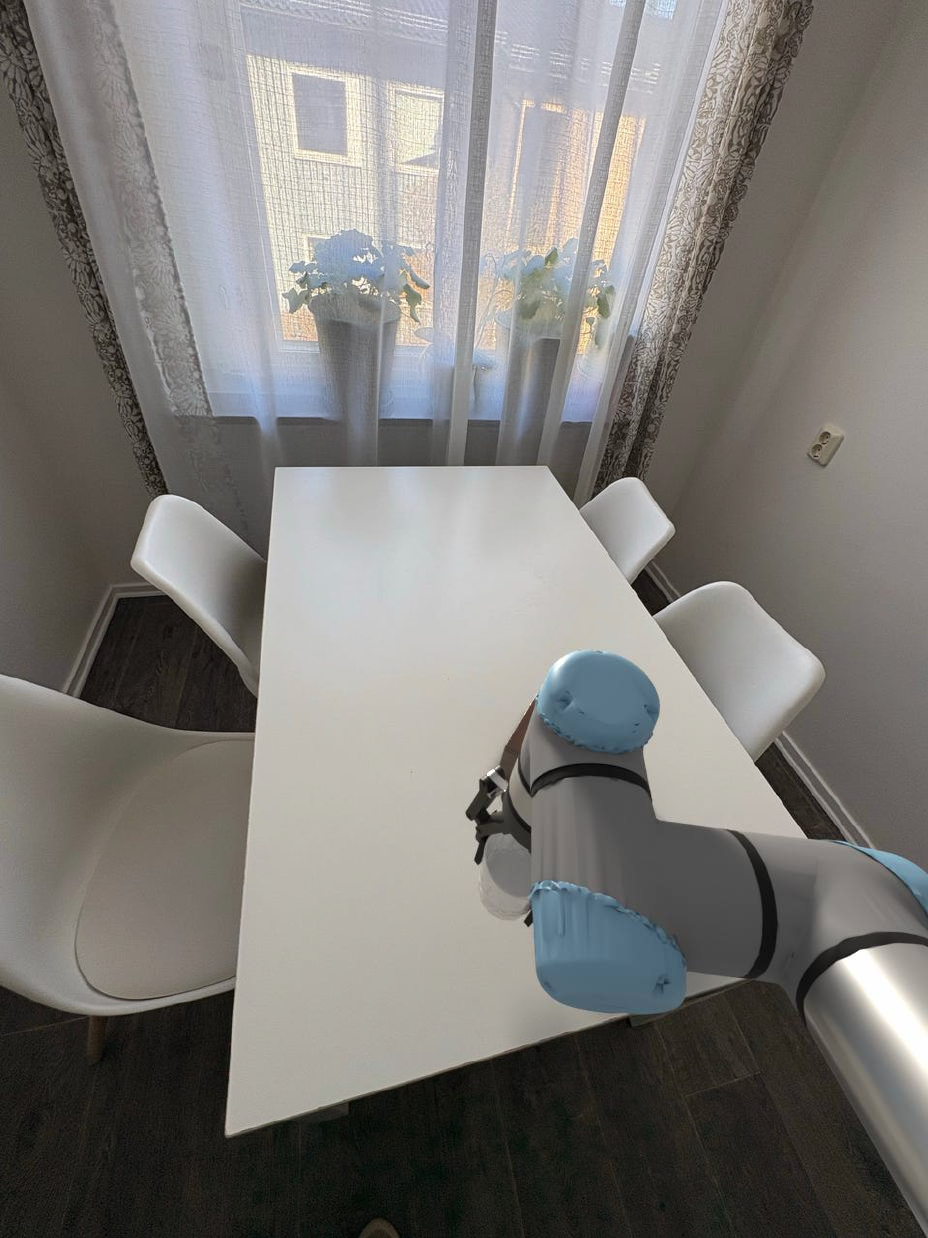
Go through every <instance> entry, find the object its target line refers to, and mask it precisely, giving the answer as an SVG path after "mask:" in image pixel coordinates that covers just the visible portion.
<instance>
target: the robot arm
mask: <svg viewBox="0 0 928 1238" xmlns="http://www.w3.org/2000/svg"><path fill="white" fill-rule="evenodd" d="M541 686H542V687H541ZM541 686H540V688H539V689H538V691H537V693H538V694H537V693H535V696H536V697H535V696H534V698H535V701H536V703H535V707H534V710H533V713H532V716H531V719H530V722H529V725H528V728H527V731H526V734H525V737H524V740H523V744H522V747H521V750H520V753H519V756H518V758H517V761H516V763H515V766H514V768H513V771H512V774H511V777H510V780H509V783H508V782H507V780H505V772H504V770H503V768H502V767H500V766H499V764H497V765H496V766H494V767H493V768H492V769H491V770H490V771H488V772H487V773H485V775H483V776H482V777H480V778H479V779H478V784H479V785H478V792H477V793H476V794H475V796H474V798H473V799H472V800H471V803H470V804H469V806H468V807H467V809H466V810H465V812H464V813H465V816H466V818H467V819H468V820H469V821H470V822H473V821H474V822H475V824H476V826H475V831H476V832H475V835H474V838H475V841H476V842H477V843H478V846H477V849H476V852H475V855H474V858H473V861H474V863H475V864H476V866H479V865H481V862H482V858H483V853H484V849H485V845H486V842H487V839H488V838H489V836H490V835H492V834H498V833H503V835H506V834H511V835H512V836H513V838H514V839H515V840H516V841H517V842H518V843H519V844H520V845H522V846H523V847H524V848H526V849H528V852H529V853H530V854H531V888H530V894H529V902H530V903H532V909H531V910H530V911H529V912H528V913H527V914H526V917H525V919H524V920H523V924H524V925H525V926H526V927H527V928H530V926H533V927H532V928H533V947H534V963H535V974H536V978H537V980H538V982H539V985H540V986H541V988H542V989H543V990H544V992H546V993H547V995H548V996H549V997H550V998H551V999H553V1000H555V1002H558V1003H560V1004H562V1005H564V1006H567V1007H571V1008H574V1009H578V1010H583V1011H587V1012H594V1013H601V1014H627V1015H637V1016H638V1015H639V1016H640V1015H654V1014H661V1013H663V1014H664V1013H667V1012H670V1011H674V1010H676V1009H677V1008H679V1007H680V1006H681V1005H682V1004H683V1003H684V1001H685V999H686V995H687V976H686V975H687V973H695V974H704V975H711V976H719V977H727V978H736V979H744V980H754V981H758V982H766V983H772V984H777V985H778V986H780V987H781V988H782V989H783V991H784V993H786V996H787V997H788V999H789V1001H790V1002H791V1004H792V1007H794V1009H795V1010H796V1012H797V1013H798V1016H799V1018H800V1020H801V1021H802V1023H803V1026H805V1029H806V1030H807V1031H808V1033H809V1034H810V1036H811V1038H812V1039H813V1041H814V1042H815V1045H816V1046H817V1048H818V1050H819V1051H820V1053H821V1055H822V1057H823V1058H824V1060H825V1062H826V1063H827V1065H828V1066H829V1069H830V1070H831V1073H832V1075H834V1077H835V1080H836V1081H837V1083H838V1085H839V1086H840V1088H841V1090H842V1092H843V1093H844V1095H845V1097H846V1098H847V1100H848V1102H849V1103H850V1106H851V1107H852V1109H853V1111H854V1113H855V1114H856V1116H857V1117H858V1120H859V1121H860V1123H861V1124H862V1126H863V1128H864V1130H865V1132H866V1133H867V1135H868V1137H869V1139H870V1141H871V1142H872V1144H873V1146H874V1148H875V1149H876V1151H877V1152H878V1154H879V1156H880V1158H881V1159H882V1161H883V1163H884V1165H885V1167H886V1169H887V1170H888V1172H889V1173H890V1176H891V1177H892V1179H893V1181H894V1183H895V1184H896V1187H898V1189H899V1191H900V1193H901V1195H902V1197H903V1198H904V1200H905V1202H906V1203H907V1205H908V1207H909V1209H910V1211H911V1212H912V1215H914V1217H915V1219H916V1221H917V1223H918V1225H919V1226H920V1228H921V1229H922V1231H923V1234H925V1237H926V1238H928V873H927V872H926V871H925V870H923V868H921V867H920V866H918V864H915V863H914V862H912V861H910V860H908V859H906V858H905V857H903V856H900V855H897V854H894V853H891V852H887V851H884V850H878V849H873V848H868V847H863V846H858V845H855V844H851V843H850V842H848V841H843V840H835V839H834V840H833V839H812V838H805V837H795V836H789V835H788V836H787V835H778V834H771V833H770V834H769V833H763V832H762V833H761V832H752V831H745V830H735V829H728V828H720V827H712V826H705V825H698V824H697V825H696V824H689V823H682V822H674V821H667V820H661V819H658V818H657V815H656V813H655V808H654V804H653V797H652V792H651V786H650V782H649V777H648V772H647V767H646V762H645V756H644V750H645V749H644V747H645V746H646V745H647V744H648V743H649V741H650V739H651V738H652V737H653V735H654V730H655V728H656V725H657V722H658V720H659V717H660V712H661V704H660V703H661V701H660V697H659V693H658V691H657V689H656V686H655V684H654V683H653V682H652V680H651V679H650V677H649V676H648V675H647V674H646V672H645V671H643V669H641V668H640V666H638V665H636V664H635V663H634V662H633V661H630V660H629V659H627V658H626V657H623V656H621V655H619V654H617V653H613V652H611V651H601V650H594V649H581V650H575V651H572V652H570V653H567V654H566V655H564V656H562V657H561V658H559V659H558V660H556V662H554V663H553V665H552V666H551V667H550V669H549V671H548V673H547V675H546V677H545V680H544V681H543V683H542V685H541ZM499 796H500V800H501V803H502V804H501V805H502V806H501V809H502V810H499V811H498V809H495V810H494V811H493V812H492V813H489V811H488V810H487V809H488V808H490V806H491V805H492V804H493V802H494V801H495V800H496V798H497V797H499Z"/></svg>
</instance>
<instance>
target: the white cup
mask: <svg viewBox="0 0 928 1238" xmlns="http://www.w3.org/2000/svg"><path fill="white" fill-rule="evenodd" d="M478 877H479V879H478V885H477V890H478V894H479V899H480V903H481V904H482V905H483V907H484V908H485V909H486V911H487V913H488V914H490V915H491V916H493V917H495V918H496V919H498V920H500V921H514V922H515V921H517V920H519V919H520V918H523V917H524V916H527V915H528V914H529V912H530V911H531V909H532V903H530V902H529V894H530V888H531V854H530V853H529V852H528V849H526V848H524V847H523V846H522V845H520V844H519V843H518V842H517V841H516V840H515V839H514V838H513V836H512V835H511V834H506V835H503V833H498V834H492V835H490V836H489V838H488V839H487V842H486V845H485V849H484V853H483V858H482V862H481V863H480V869H479V874H478Z"/></svg>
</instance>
